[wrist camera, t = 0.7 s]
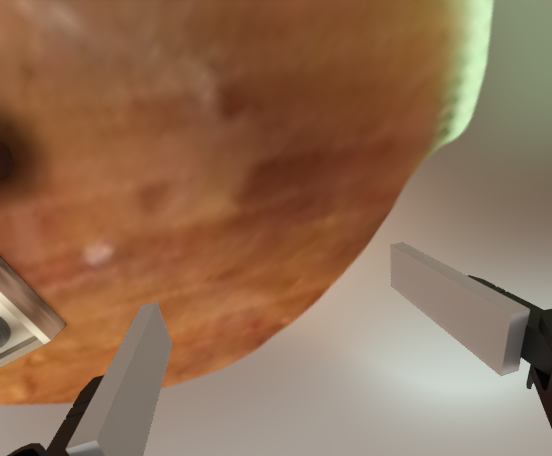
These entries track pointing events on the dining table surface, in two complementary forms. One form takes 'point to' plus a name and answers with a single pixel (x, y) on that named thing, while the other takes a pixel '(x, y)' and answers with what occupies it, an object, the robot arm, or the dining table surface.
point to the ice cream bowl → (5, 161)
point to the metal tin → (4, 332)
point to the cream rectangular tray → (24, 316)
